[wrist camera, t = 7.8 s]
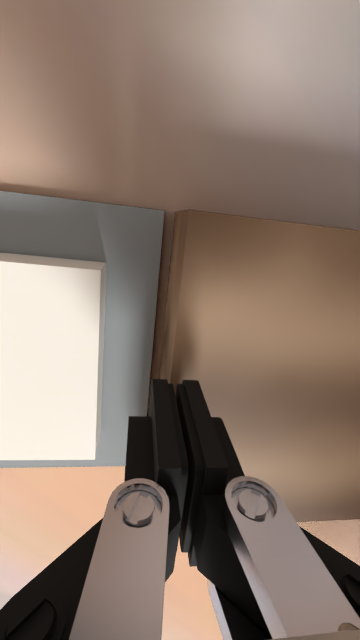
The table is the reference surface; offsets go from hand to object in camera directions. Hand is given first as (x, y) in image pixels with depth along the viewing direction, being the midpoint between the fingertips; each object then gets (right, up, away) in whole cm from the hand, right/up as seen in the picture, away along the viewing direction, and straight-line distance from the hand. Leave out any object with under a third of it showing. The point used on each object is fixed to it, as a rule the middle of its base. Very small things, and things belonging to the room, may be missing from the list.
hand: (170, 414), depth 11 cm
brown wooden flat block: (+7, +1, +6) cm, 9 cm away
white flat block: (-6, +1, +1) cm, 6 cm away
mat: (-6, +2, +4) cm, 7 cm away
